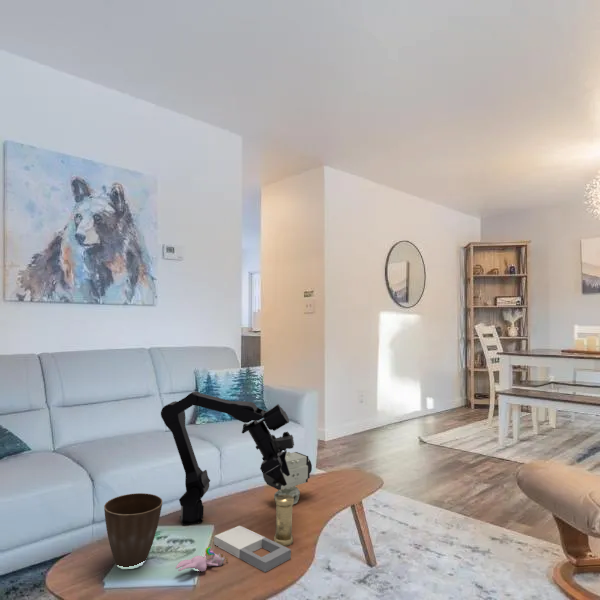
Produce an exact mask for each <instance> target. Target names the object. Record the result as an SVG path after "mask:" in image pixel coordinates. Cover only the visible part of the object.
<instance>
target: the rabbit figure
mask: <svg viewBox="0 0 600 600" xmlns="http://www.w3.org/2000/svg"><path fill="white" fill-rule="evenodd" d="M211 549H212V546H208V547H206V548H205V552H204V553H205V554H206V555H204V556H202V555H195V556H193V557H192V558H191V559H183V560H181V561H179V562H178V564H177V565H176V566H175V569H176V570H177V569H178V572H181V571H183V570H185V569H191V568H195V569H198V570H199V572H200V571H201V573H202V572H205V571H206V570H207V566H208V567H212V566H214V567H221V566H222V565H224V563H225V560H226V562H229V556H227V557H226V556H224V553H220V552H219V553H218V554H217V553H215V552H214V550H211ZM207 556H210V558H209V559H207V558H208V557H207Z"/></svg>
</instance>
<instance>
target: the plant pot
mask: <svg viewBox="0 0 600 600" xmlns="http://www.w3.org/2000/svg"><path fill="white" fill-rule="evenodd" d="M162 506H163V499H162V498H161V497H160V496H158V495H156V494H151V493H143V492H141V493H127V494H122V495H120V496H119V495H118V496H116V497H113V498H111V499H109V500H108V501H107V502H106V503H105V504H104V505H103V509H104V520H105V528H106V532H107V538H108V543H109V547H110V551H111V553H112V557H113V561H114V563H115V566H116V565H119V566H123V567H129V566H134V565H137V564H139V563H141V562H143V561H145V560H146V561H147V559H148V556H149V553H150V551H151V549H152V546H153V543H154V540H155V536H156V533H157V529H158V525H159V521H160V517H161V513H162ZM146 558H147V559H146Z"/></svg>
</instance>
